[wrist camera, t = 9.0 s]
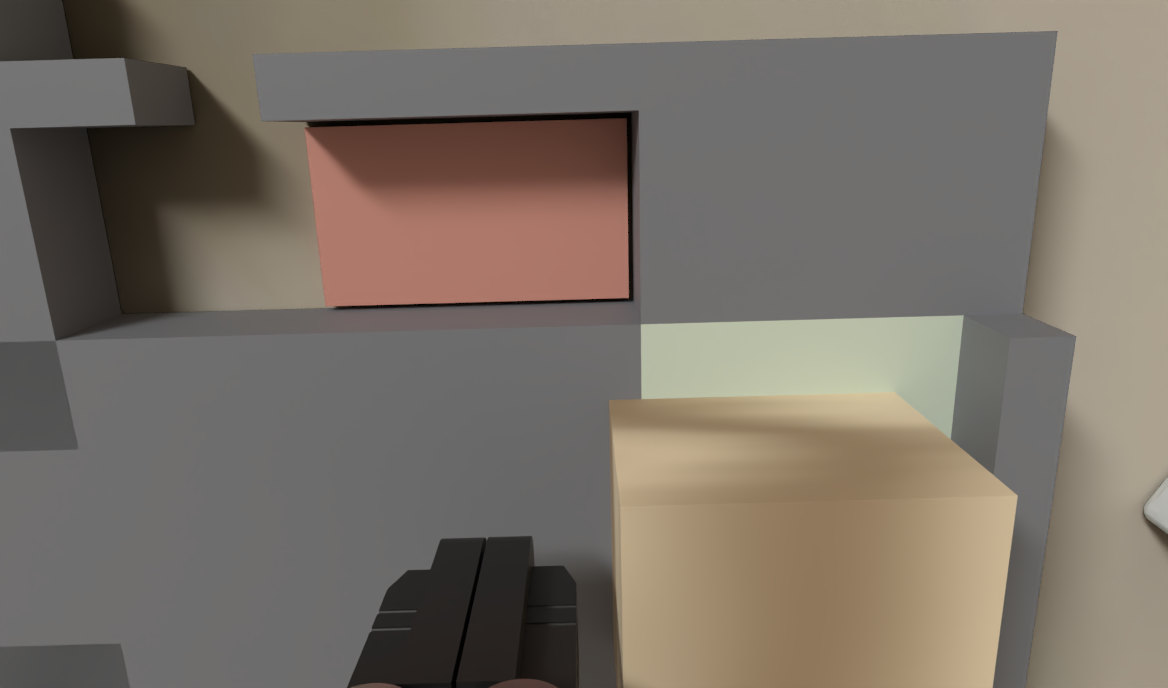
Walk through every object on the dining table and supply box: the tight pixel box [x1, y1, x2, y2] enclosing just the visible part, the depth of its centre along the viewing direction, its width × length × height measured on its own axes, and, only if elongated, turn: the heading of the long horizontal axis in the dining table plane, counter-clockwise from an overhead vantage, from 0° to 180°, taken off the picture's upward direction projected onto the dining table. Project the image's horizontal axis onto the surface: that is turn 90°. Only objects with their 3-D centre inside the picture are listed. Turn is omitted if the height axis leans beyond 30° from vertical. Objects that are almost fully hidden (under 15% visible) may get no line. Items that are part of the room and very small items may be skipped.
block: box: [609, 392, 1018, 688], centre depth 12 cm, size 5×5×4 cm
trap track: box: [0, 0, 1076, 688], centre depth 15 cm, size 23×22×4 cm
